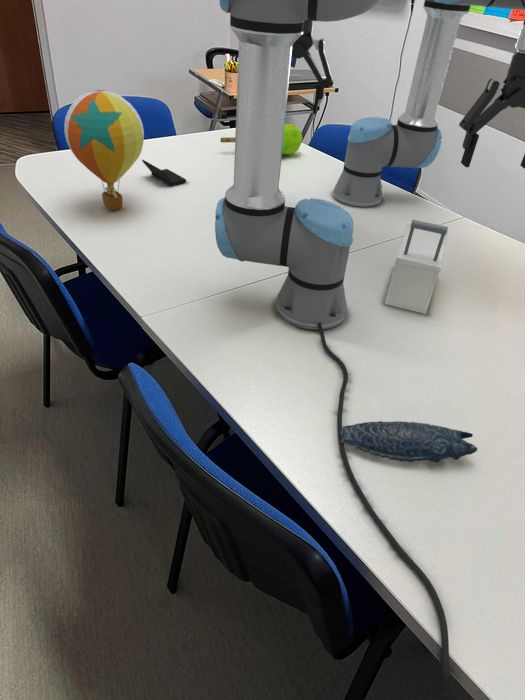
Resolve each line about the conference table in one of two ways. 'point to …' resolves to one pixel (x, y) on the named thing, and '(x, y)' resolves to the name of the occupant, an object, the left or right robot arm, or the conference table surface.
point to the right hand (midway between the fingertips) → (494, 166)
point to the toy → (105, 138)
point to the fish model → (407, 440)
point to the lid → (423, 245)
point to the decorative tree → (284, 139)
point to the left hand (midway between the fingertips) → (288, 109)
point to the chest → (411, 287)
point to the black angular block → (165, 175)
